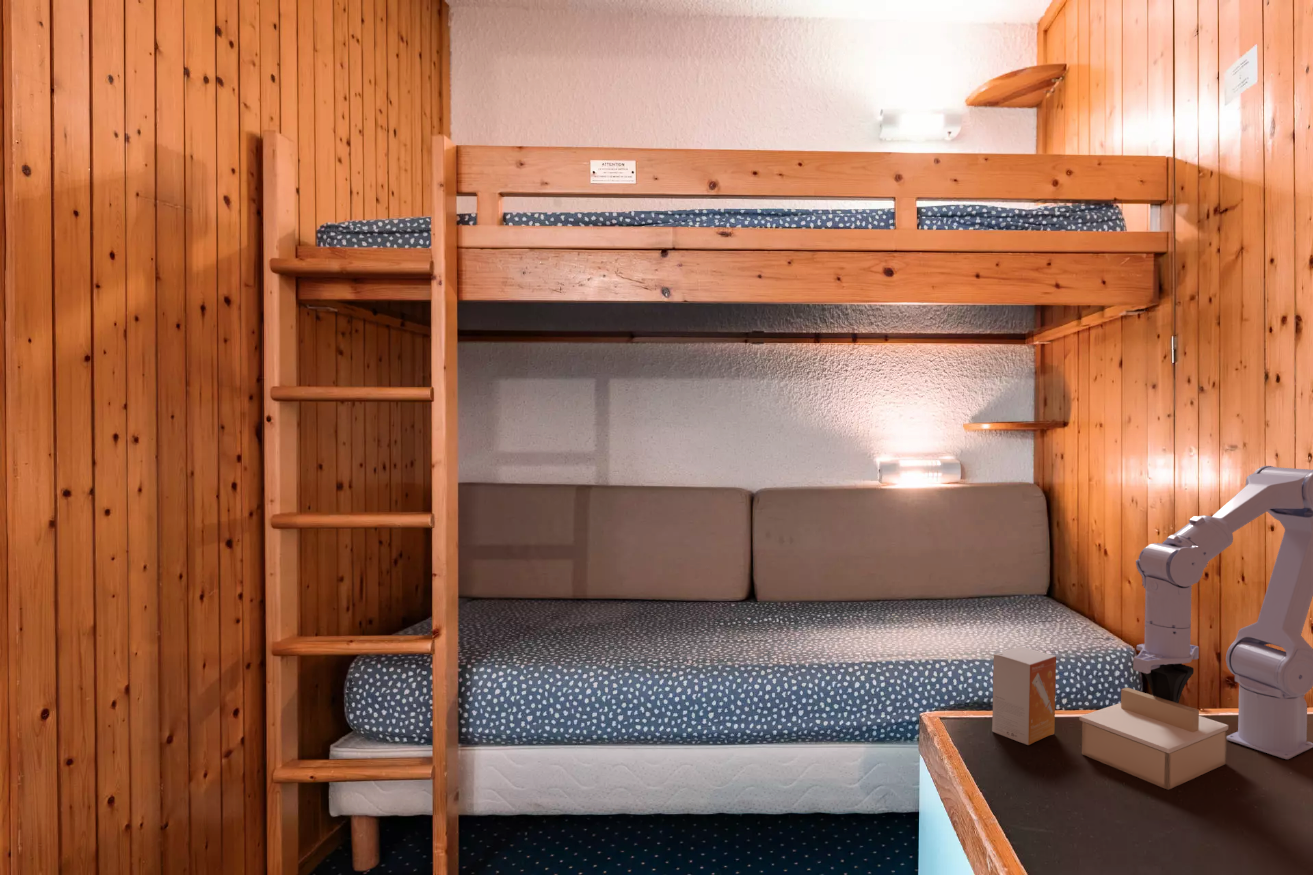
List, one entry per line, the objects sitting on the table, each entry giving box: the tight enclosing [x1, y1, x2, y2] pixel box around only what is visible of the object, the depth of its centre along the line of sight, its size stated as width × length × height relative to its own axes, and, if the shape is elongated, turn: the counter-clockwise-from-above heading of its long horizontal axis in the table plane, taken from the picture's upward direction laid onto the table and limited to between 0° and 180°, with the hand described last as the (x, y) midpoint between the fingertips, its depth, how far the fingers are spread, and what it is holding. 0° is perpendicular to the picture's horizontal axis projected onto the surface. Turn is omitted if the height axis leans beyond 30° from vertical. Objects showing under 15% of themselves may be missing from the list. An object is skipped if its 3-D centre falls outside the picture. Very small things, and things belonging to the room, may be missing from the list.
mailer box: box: [1081, 721, 1228, 791], centre depth 108 cm, size 16×12×5 cm
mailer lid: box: [1079, 687, 1229, 753], centre depth 108 cm, size 16×12×4 cm
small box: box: [991, 645, 1057, 746], centre depth 117 cm, size 8×6×13 cm
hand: (1165, 711), depth 110 cm, fingers closed
